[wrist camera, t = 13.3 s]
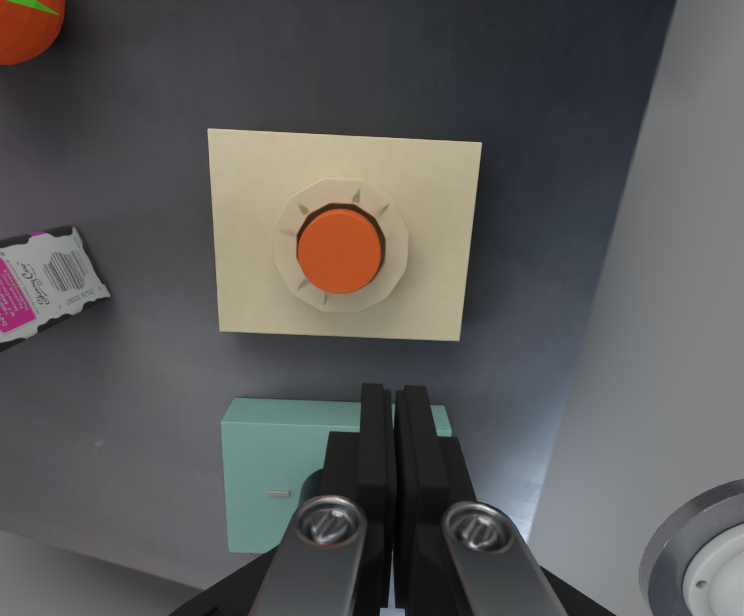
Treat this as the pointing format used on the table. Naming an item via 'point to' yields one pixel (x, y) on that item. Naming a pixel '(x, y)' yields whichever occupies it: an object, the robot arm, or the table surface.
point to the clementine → (28, 28)
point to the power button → (339, 251)
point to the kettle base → (342, 191)
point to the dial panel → (279, 461)
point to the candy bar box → (45, 282)
